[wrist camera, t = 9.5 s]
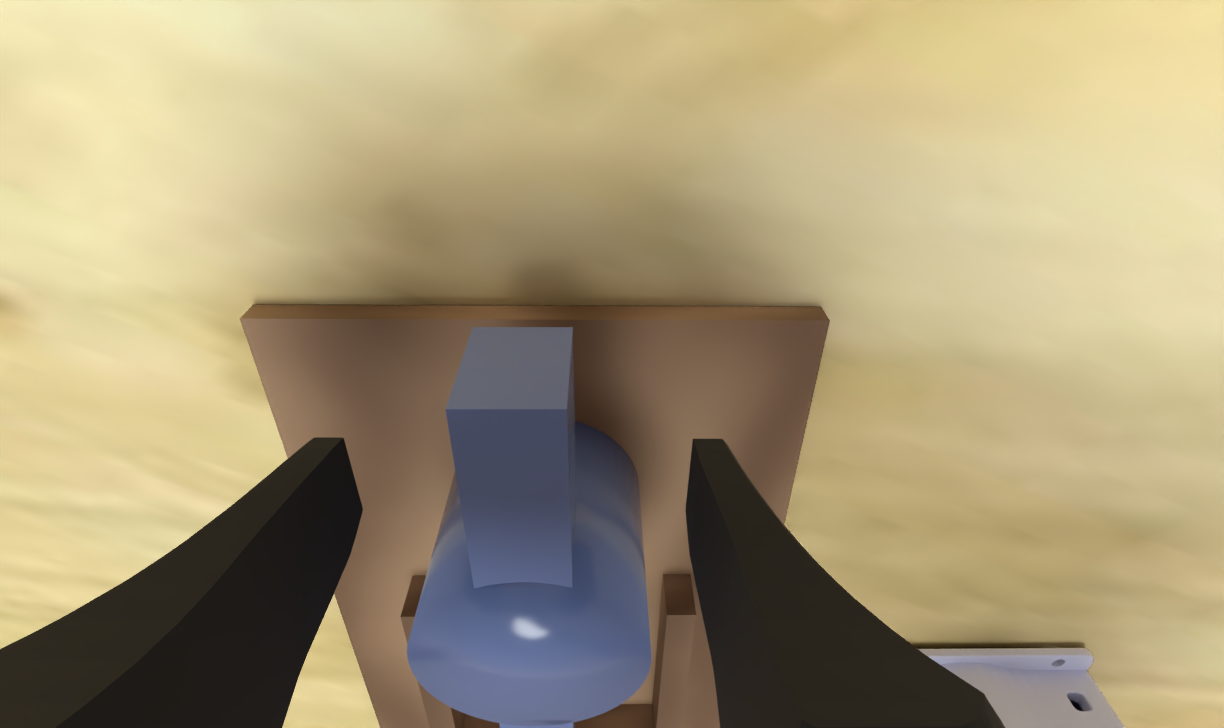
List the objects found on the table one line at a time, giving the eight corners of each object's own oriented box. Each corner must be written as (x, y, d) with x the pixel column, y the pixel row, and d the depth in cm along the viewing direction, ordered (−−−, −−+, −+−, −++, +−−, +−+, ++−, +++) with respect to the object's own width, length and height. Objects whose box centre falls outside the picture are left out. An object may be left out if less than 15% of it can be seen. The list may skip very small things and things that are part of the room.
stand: (821, 307, 18) (849, 353, 16) (732, 721, 30) (742, 779, 28) (253, 304, 18) (207, 352, 16) (390, 724, 30) (374, 783, 28)
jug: (635, 572, 23) (644, 745, 18) (467, 573, 23) (431, 747, 18) (649, 270, 17) (670, 409, 12) (417, 269, 17) (339, 408, 12)
